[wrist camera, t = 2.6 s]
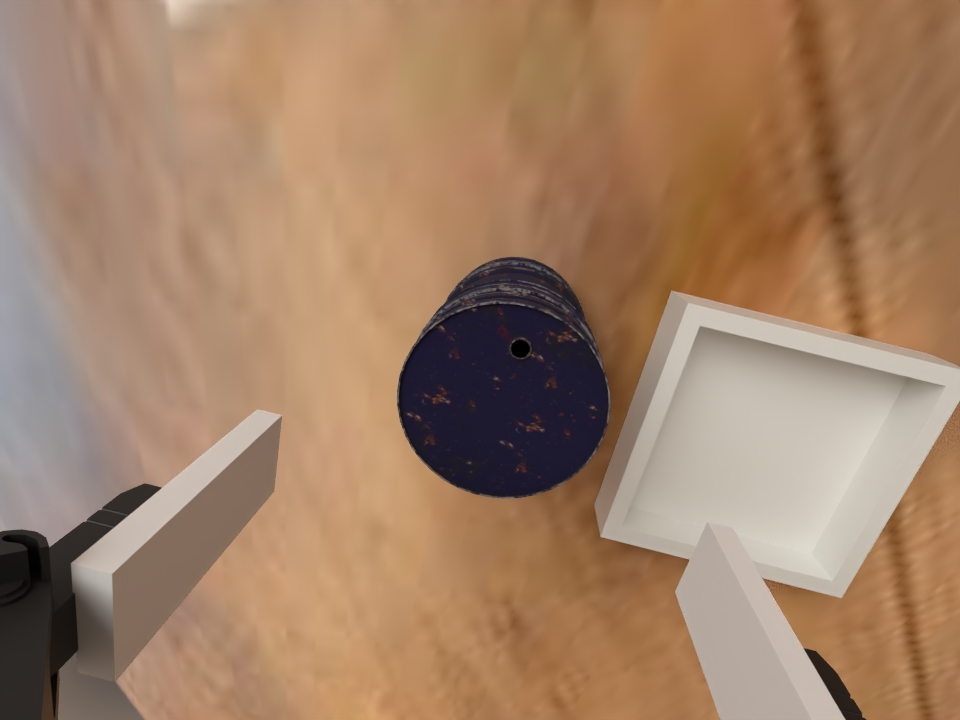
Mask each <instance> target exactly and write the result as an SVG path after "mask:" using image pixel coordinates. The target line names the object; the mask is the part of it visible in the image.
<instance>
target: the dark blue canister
mask: <svg viewBox="0 0 960 720" xmlns="http://www.w3.org/2000/svg"><path fill="white" fill-rule="evenodd" d="M397 406H398V412H399V417H400V422H401V425H402V428H403V430H404V433H405V436H406V438H407V440H408V441H409V443H410V445H411V447H412V449H413V450H414V451H415V453H416V454H417V455H418V457H419V458H420V459H421V461H422V462H423V463H424V464H425V465H426V466H427V467H428V468H429V469H430V470H431V471H432V472H434V473H435V474H437V475H438V476H439V477H441V478H442V479H443V480H445V481H446V482H448V483H450V484H452V485H454V486H456V487H457V488H460V489H462V490H465V491H468V492H470V493H473V494H477V495H482V496H486V497H493V498H521V497H527V496H532V495H536V494H539V493H542V492H545V491H548V490H551V489H553V488H555V487H557V486H559V485H561V484H563V483H564V482H566V481H567V480H569V479H570V478H572V477H573V476H574V475H576V474H577V473H578V472H579V471H580V470H581V469H582V468H583V467H584V466H585V465H586V464H587V463H588V462H589V461H590V459H591V458H592V457H593V455H594V454H595V452H596V451H597V449H598V447H599V445H600V443H601V442H602V440H603V438H604V435H605V431H606V428H607V425H608V421H609V414H610V390H609V385H608V381H607V376H606V373H605V371H604V368H603V363H602V359H601V355H600V352H599V350H598V348H597V345H596V342H595V339H594V337H593V334H592V332H591V329H590V328H589V326H588V325H587V323H586V321H585V317H584V313H583V311H582V308H581V306H580V303H579V301H578V299H577V297H576V296H575V294H574V292H573V291H572V289H571V288H570V287H569V285H568V284H567V282H566V281H565V280H564V279H563V278H562V277H561V276H560V275H559V274H558V273H557V272H556V271H554V270H553V269H552V268H550V267H548V266H547V265H545V264H543V263H540V262H538V261H535V260H532V259H527V258H523V257H507V258H500V259H496V260H492V261H489V262H487V263H485V264H483V265H481V266H479V267H478V268H476V269H475V270H473V271H472V272H471V273H470V274H469V275H467V276H466V277H465V278H464V279H463V280H462V281H461V282H460V283H459V284H458V285H457V286H456V287H455V289H454V290H453V291H452V292H451V294H450V295H449V297H448V299H447V300H446V302H445V304H444V305H442V306H441V307H440V308H439V309H438V311H437V312H436V313H435V314H434V316H433V317H432V318H431V320H430V321H429V323H428V324H427V325H426V327H425V328H424V329H423V330H422V332H421V334H420V336H419V338H418V340H417V341H416V343H415V344H414V346H413V347H412V349H411V350H410V352H409V354H408V356H407V358H406V360H405V362H404V365H403V368H402V371H401V373H400V377H399V383H398V390H397Z"/></svg>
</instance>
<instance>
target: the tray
mask: <svg viewBox="0 0 960 720" xmlns="http://www.w3.org/2000/svg"><path fill="white" fill-rule="evenodd" d="M959 401H960V367H959V366H957V365H955V364H952V363H950V362H947V361H945V360H943V359H940V358H938V357H935V356H933V355H931V354H928V353H924V352H920V351H916V350H912V349H908V348H904V347H900V346H895V345H891V344H887V343H883V342H879V341H875V340H871V339H867V338H863V337H859V336H855V335H851V334H846V333H842V332H838V331H834V330H830V329H826V328H822V327H818V326H814V325H810V324H806V323H802V322H797V321H793V320H789V319H785V318H781V317H777V316H773V315H769V314H765V313H761V312H757V311H753V310H748V309H744V308H740V307H736V306H732V305H728V304H724V303H720V302H716V301H712V300H708V299H704V298H699V297H695V296H691V295H687V294H683V293H679V292H675V291H671V293H670V296H669V299H668V301H667V304H666V307H665V310H664V312H663V315H662V318H661V321H660V324H659V326H658V329H657V332H656V335H655V337H654V340H653V343H652V346H651V349H650V351H649V354H648V357H647V360H646V362H645V365H644V368H643V371H642V374H641V376H640V379H639V382H638V385H637V387H636V390H635V393H634V396H633V399H632V401H631V404H630V407H629V410H628V412H627V415H626V418H625V421H624V424H623V426H622V429H621V432H620V435H619V437H618V440H617V443H616V446H615V449H614V451H613V454H612V457H611V460H610V462H609V465H608V468H607V471H606V474H605V476H604V479H603V482H602V485H601V487H600V490H599V493H598V496H597V499H596V501H595V504H594V507H595V512H596V517H597V522H598V527H599V532H600V537H603V538H607V539H611V540H615V541H618V542H622V543H626V544H630V545H634V546H638V547H642V548H646V549H650V550H654V551H658V552H662V553H666V554H670V555H674V556H677V557H681V558H685V559H689V560H690V558H691V556H692V554H693V552H694V549H695V547H696V545H697V543H698V541H699V539H700V536H701V534H702V532H703V530H704V528H705V526H706V523H707V522H711V523H715V524H719V525H723V526H727V527H731V528H733V530H734V531H735V533H736V535H737V536H738V538H739V540H740V541H741V543H742V545H743V547H744V548H745V550H746V552H747V553H748V555H749V557H750V558H751V560H752V562H753V564H754V565H755V567H756V569H757V570H758V572H759V574H760V575H761V577H762V578H764V579H768V580H772V581H776V582H780V583H784V584H788V585H792V586H795V587H799V588H803V589H807V590H811V591H815V592H819V593H823V594H827V595H831V596H835V597H839V598H842V597H843V595H844V593H845V592H846V590H847V588H848V587H849V585H850V583H851V582H852V580H853V578H854V577H855V575H856V573H857V572H858V570H859V568H860V566H861V565H862V563H863V561H864V560H865V558H866V556H867V555H868V553H869V551H870V550H871V548H872V546H873V545H874V543H875V541H876V540H877V538H878V536H879V535H880V533H881V531H882V530H883V528H884V526H885V525H886V523H887V521H888V520H889V518H890V516H891V515H892V513H893V511H894V510H895V508H896V506H897V505H898V503H899V501H900V500H901V498H902V496H903V495H904V493H905V491H906V490H907V488H908V486H909V485H910V483H911V481H912V480H913V478H914V476H915V475H916V473H917V471H918V470H919V468H920V466H921V465H922V463H923V461H924V460H925V458H926V456H927V455H928V453H929V451H930V450H931V448H932V446H933V445H934V443H935V441H936V440H937V438H938V436H939V435H940V433H941V431H942V430H943V428H944V426H945V425H946V423H947V421H948V420H949V418H950V416H951V415H952V413H953V411H954V409H955V408H956V406H957V404H958V403H959Z"/></svg>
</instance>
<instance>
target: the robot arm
mask: <svg viewBox="0 0 960 720" xmlns="http://www.w3.org/2000/svg"><path fill="white" fill-rule="evenodd" d="M281 420H282V415H279V414H275V413H271V412H267V411H263V410H259V409H257V410H256V411H255V412H253V413H252V414H251V415H250V416H249V417H247V418H246V419H245V420H244V421H243V422H241V423H240V424H239V425H238V426H236V427H235V428H234V429H233V430H232V431H230V432H229V433H228V434H227V435H226V436H224V437H223V438H222V439H221V440H220V441H218V442H217V443H216V444H215V445H214V446H212V447H211V448H210V449H209V450H207V451H206V452H205V453H204V454H203V455H201V456H200V457H199V458H198V459H197V460H195V461H194V462H193V463H192V464H191V465H189V466H188V467H187V468H186V469H184V470H183V471H182V472H181V473H180V474H178V475H177V476H176V477H175V478H174V479H172V480H171V481H170V482H169V483H168V484H166V485H165V486H164V487H163V488H161V487H157V486H153V485H149V484H142V485H140V486H138V487H135V488H133V489H130V490H128V491H126V492H123V493H121V494H120V495H118V496H117V497H116V498H114V499H113V500H112V501H110V502H109V503H108V504H106V505H105V506H104V507H103V508H102V510H98V511H97V512H96V513H94V514H93V515H92V516H91V517H89V518H88V519H87V521H86V522H83V523H81V524H80V525H79V526H77V527H76V528H75V529H73V530H72V531H71V532H69V533H68V534H67V535H65V536H64V537H63V538H61V539H60V540H59V541H57V542H56V543H55V544H54V545H52V546H51V547H50V548H49V545H48V542H47V539H46V537H44V536H43V535H41V534H39V533H38V532H34V531H28V530H10V531H2V532H0V720H58V701H59V681H60V679H59V669H60V668H61V667H62V666H63V665H64V664H65V663H66V662H67V661H68V660H69V659H70V658H71V657H72V656H73V654H75V652H77V667H78V673H82V674H86V675H90V676H93V677H97V678H101V679H105V680H109V681H113V682H116V680H117V679H118V678H119V677H120V676H121V674H122V673H123V672H124V671H125V670H126V668H127V667H128V666H129V665H130V664H131V662H132V661H133V660H134V659H135V658H136V656H137V655H138V654H139V653H140V652H141V650H142V649H143V648H144V647H145V646H146V644H147V643H148V642H149V641H150V640H151V638H152V637H153V636H154V635H155V634H156V632H157V631H158V630H159V629H160V628H161V626H162V625H163V624H164V623H165V622H166V620H167V619H168V618H169V617H170V616H171V614H172V613H173V612H174V611H175V610H176V608H177V607H178V606H179V605H180V604H181V602H182V601H183V600H184V599H185V598H186V596H187V595H188V594H189V593H190V592H191V590H192V589H193V588H194V587H195V586H196V584H197V583H198V582H199V581H200V580H201V578H202V577H203V576H204V575H205V574H206V572H207V571H208V570H209V569H210V568H211V566H212V565H213V564H214V563H215V562H216V560H217V559H218V558H219V557H220V556H221V554H222V553H223V552H224V551H225V550H226V548H227V547H228V546H229V545H230V544H231V542H232V541H233V540H234V539H235V538H236V536H237V535H238V534H239V533H240V532H241V530H242V529H243V528H244V527H245V526H246V524H247V523H248V522H249V521H250V520H251V518H252V517H253V516H254V515H255V514H256V512H257V511H258V510H259V509H260V508H261V506H262V505H263V504H264V503H265V502H266V500H267V499H268V498H269V497H270V495H271V494H272V493H273V492H274V488H275V478H276V468H277V459H278V449H279V439H280V430H281ZM675 594H676V596H677V599H678V602H679V605H680V608H681V610H682V613H683V616H684V619H685V622H686V625H687V627H688V630H689V633H690V636H691V639H692V641H693V644H694V647H695V650H696V653H697V656H698V658H699V661H700V664H701V667H702V670H703V672H704V675H705V678H706V681H707V684H708V687H709V689H710V692H711V695H712V698H713V701H714V703H715V706H716V709H717V712H718V715H719V718H720V720H866V719H865V718H862V713H861V711H860V709H859V708H858V706H857V705H856V703H855V701H854V700H853V699H851V698H850V693H849V692H848V690H847V689H846V687H845V685H844V684H843V682H842V681H841V679H840V677H839V676H838V674H837V673H836V672H835V671H834V670H833V668H832V667H831V666H830V665H829V664H828V663H827V662H826V661H825V660H824V659H823V658H822V657H821V656H820V655H819V654H818V653H817V652H816V651H813V650H809V649H805V648H803V647H802V645H801V643H800V642H799V640H798V638H797V637H796V635H795V633H794V632H793V630H792V628H791V626H790V625H789V623H788V621H787V620H786V618H785V616H784V615H783V613H782V611H781V609H780V608H779V606H778V604H777V603H776V601H775V599H774V598H773V596H772V594H771V592H770V591H769V589H768V587H767V586H766V584H765V582H764V581H763V579H762V577H761V575H760V574H759V572H758V570H757V569H756V567H755V565H754V564H753V562H752V560H751V558H750V557H749V555H748V553H747V552H746V550H745V548H744V547H743V545H742V543H741V541H740V540H739V538H738V536H737V535H736V533H735V531H734V530H733V528H731V527H727V526H723V525H719V524H715V523H711V522H707V523H706V526H705V528H704V530H703V532H702V534H701V536H700V539H699V541H698V543H697V545H696V547H695V549H694V552H693V554H692V556H691V558H690V560H689V563H688V565H687V567H686V569H685V571H684V573H683V576H682V578H681V580H680V582H679V584H678V586H677V589H676V591H675Z"/></svg>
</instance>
